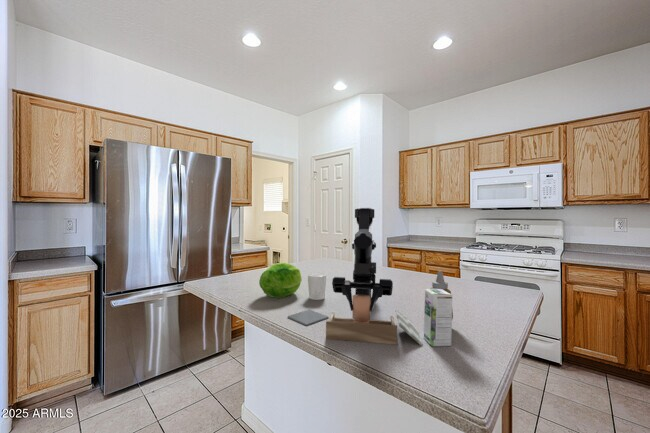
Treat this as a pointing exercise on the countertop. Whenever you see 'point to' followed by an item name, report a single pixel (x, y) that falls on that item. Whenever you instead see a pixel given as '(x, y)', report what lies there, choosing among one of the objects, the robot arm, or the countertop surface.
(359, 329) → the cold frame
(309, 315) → the slate tile
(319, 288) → the white cup
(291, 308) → the countertop surface
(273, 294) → the lettuce
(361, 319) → the peach domed cylinder
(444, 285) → the squeeze bottle
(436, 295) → the syrup box
